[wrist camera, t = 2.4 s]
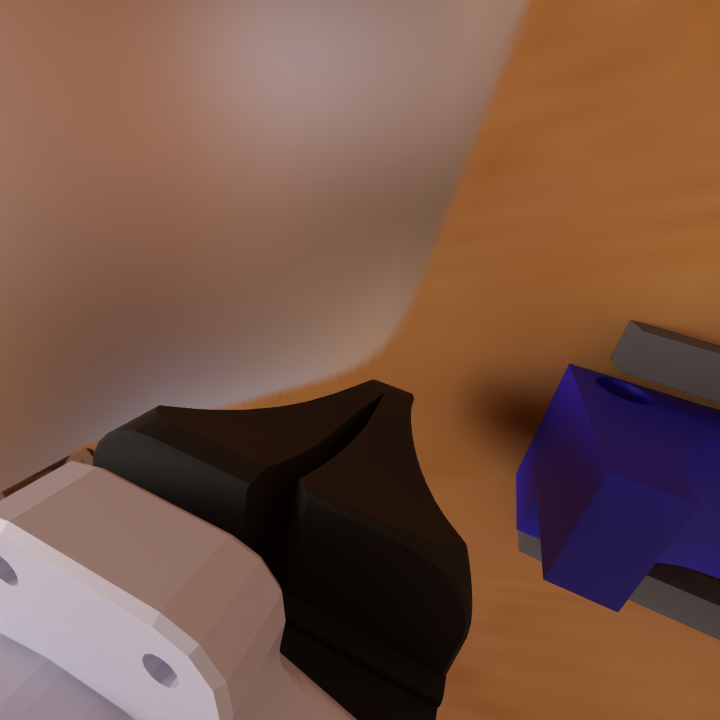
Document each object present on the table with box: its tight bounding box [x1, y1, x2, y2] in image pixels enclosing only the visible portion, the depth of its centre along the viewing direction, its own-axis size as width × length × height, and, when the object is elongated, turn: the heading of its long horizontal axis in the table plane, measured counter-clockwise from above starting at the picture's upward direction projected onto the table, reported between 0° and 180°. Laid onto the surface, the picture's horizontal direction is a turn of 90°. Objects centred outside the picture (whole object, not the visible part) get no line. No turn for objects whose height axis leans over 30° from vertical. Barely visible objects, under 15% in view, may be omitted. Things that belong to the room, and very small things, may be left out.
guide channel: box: [518, 320, 720, 640], centre depth 12 cm, size 8×8×1 cm
